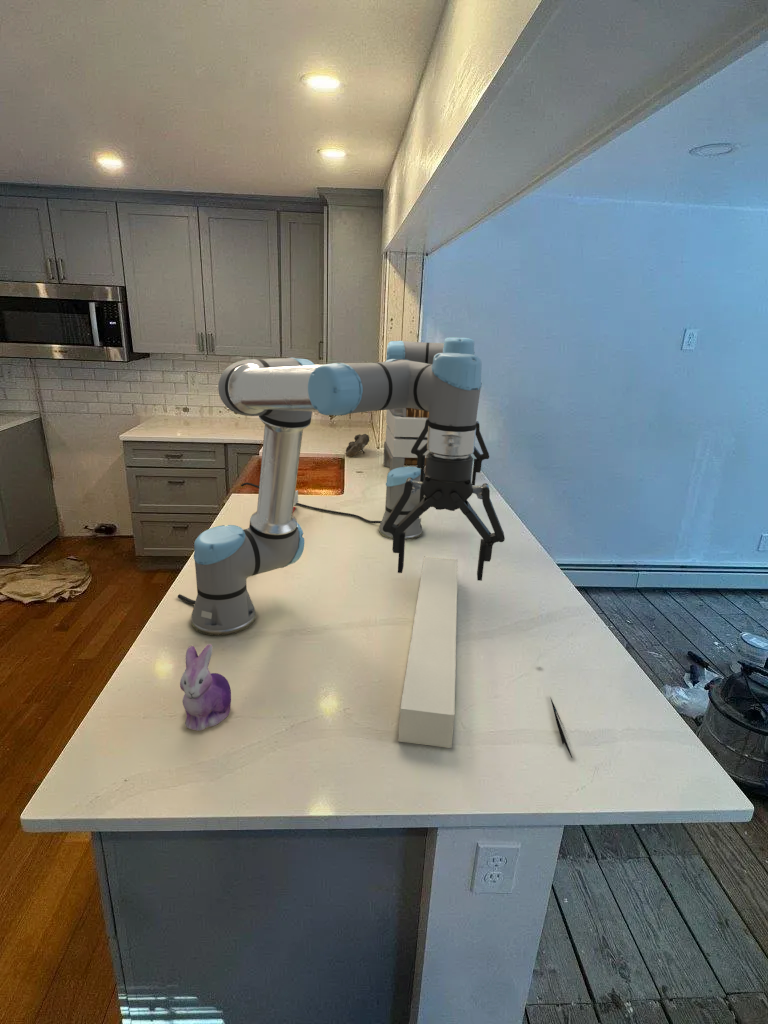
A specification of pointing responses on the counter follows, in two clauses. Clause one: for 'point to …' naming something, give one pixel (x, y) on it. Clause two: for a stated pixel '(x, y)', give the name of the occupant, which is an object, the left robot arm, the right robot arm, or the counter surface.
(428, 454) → the left robot arm
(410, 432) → the white slatted box
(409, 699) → the thick board
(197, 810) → the counter surface
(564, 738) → the feather
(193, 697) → the figurine
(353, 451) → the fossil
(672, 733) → the counter surface
